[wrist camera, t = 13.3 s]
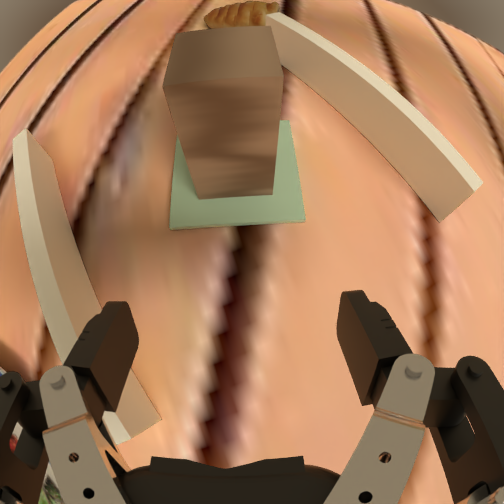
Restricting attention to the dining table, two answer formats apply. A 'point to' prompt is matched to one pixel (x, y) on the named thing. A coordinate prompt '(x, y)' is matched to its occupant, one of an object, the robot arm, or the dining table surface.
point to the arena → (321, 81)
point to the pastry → (241, 14)
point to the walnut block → (227, 108)
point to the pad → (240, 208)
